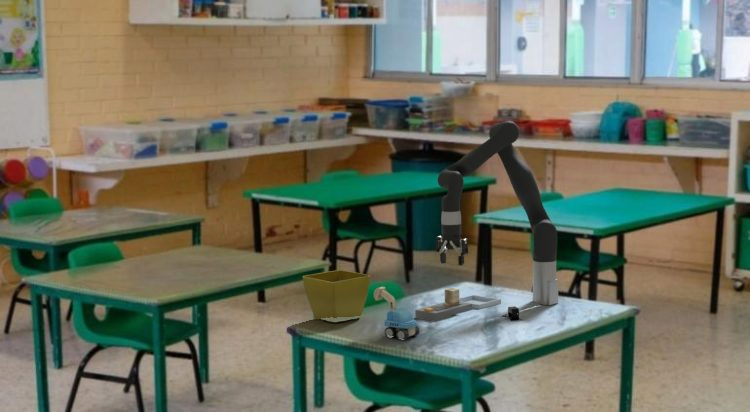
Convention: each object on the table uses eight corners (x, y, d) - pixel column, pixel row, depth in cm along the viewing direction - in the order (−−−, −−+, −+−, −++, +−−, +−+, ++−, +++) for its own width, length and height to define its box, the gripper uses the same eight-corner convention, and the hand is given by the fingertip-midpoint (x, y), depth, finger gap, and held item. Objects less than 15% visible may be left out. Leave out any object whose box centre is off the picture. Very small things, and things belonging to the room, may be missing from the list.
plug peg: (459, 312, 486) (459, 289, 485) (453, 313, 483) (452, 290, 482) (451, 310, 488) (451, 288, 487) (444, 312, 485) (444, 289, 484)
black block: (528, 322, 469) (528, 310, 468) (510, 323, 467) (510, 311, 467) (516, 315, 481) (516, 303, 480) (498, 316, 479) (498, 304, 478)
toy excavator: (385, 330, 457) (384, 284, 454) (421, 337, 446) (421, 289, 444) (370, 335, 450) (369, 288, 448) (406, 341, 440) (406, 293, 437)
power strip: (472, 311, 487) (471, 301, 486) (435, 321, 470) (435, 311, 470) (451, 308, 493) (451, 298, 493) (415, 317, 477) (415, 307, 477)
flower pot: (302, 318, 479) (301, 275, 476) (341, 311, 491) (340, 269, 489) (333, 326, 464) (332, 282, 462) (372, 319, 476) (371, 275, 474)
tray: (501, 305, 497) (501, 299, 496) (479, 311, 487) (479, 304, 486) (473, 300, 506) (473, 294, 506) (451, 306, 496) (451, 300, 496)
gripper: (472, 222, 479) (472, 264, 481) (443, 220, 488) (443, 261, 490) (459, 225, 473) (460, 267, 475) (430, 222, 483) (431, 264, 485)
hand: (452, 264), depth 483 cm, fingers open, 8 cm apart
